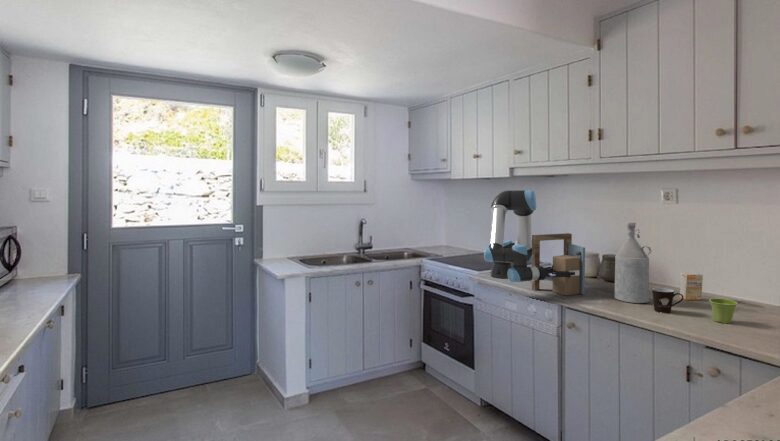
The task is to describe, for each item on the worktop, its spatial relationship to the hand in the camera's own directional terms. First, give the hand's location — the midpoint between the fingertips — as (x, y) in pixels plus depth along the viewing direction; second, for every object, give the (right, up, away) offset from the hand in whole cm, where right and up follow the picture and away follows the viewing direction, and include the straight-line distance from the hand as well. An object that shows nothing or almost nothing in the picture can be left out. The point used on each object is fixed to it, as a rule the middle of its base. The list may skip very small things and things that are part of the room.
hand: (571, 270), depth 234 cm
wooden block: (-3, -12, 0) cm, 13 cm away
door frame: (-7, -11, +12) cm, 18 cm away
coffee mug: (+27, -15, -38) cm, 49 cm away
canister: (+23, -13, -17) cm, 32 cm away
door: (+3, -11, +4) cm, 12 cm away
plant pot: (+41, -15, -53) cm, 69 cm away
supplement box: (+53, -13, -17) cm, 57 cm away
